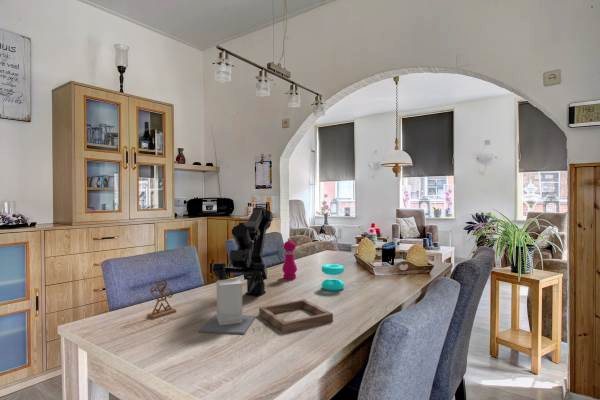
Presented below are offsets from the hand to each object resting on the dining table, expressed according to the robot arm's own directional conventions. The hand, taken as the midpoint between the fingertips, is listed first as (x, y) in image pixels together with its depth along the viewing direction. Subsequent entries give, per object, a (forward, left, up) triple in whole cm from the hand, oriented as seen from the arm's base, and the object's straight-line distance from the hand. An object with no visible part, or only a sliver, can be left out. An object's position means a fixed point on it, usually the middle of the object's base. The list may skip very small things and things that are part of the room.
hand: (235, 292), depth 115 cm
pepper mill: (-9, +56, -9) cm, 57 cm away
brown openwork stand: (-24, -9, -9) cm, 27 cm away
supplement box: (+1, -5, -8) cm, 9 cm away
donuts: (+17, +48, -9) cm, 52 cm away
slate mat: (+2, -6, -8) cm, 11 cm away
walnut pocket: (+19, +8, -8) cm, 22 cm away
